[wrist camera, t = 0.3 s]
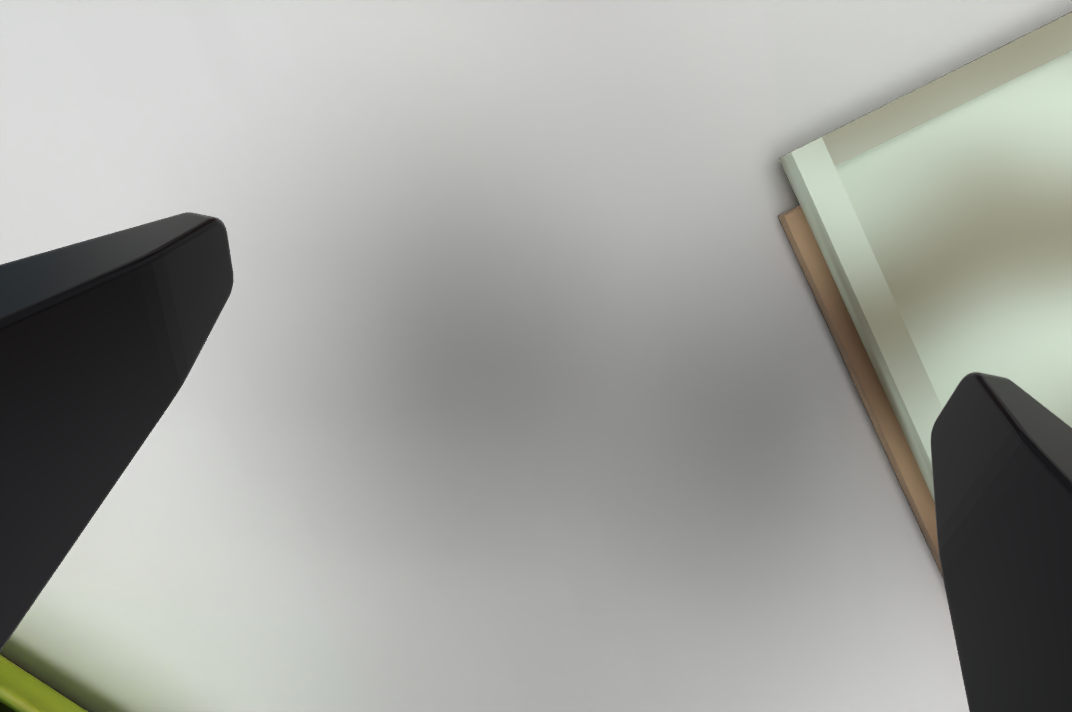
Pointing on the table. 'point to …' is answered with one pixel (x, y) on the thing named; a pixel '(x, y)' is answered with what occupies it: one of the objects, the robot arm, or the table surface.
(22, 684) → the flower pot
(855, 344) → the stand
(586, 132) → the table surface
